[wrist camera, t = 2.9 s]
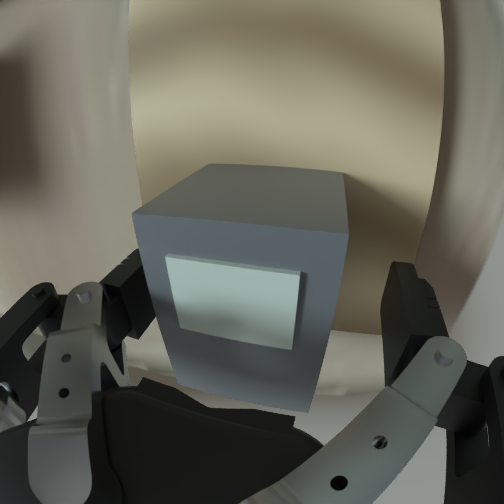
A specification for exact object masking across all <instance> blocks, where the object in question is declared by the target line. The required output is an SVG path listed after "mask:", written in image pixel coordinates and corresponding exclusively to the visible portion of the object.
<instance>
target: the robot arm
mask: <svg viewBox="0 0 504 504" xmlns="http://www.w3.org/2000/svg"><path fill="white" fill-rule="evenodd" d="M436 299H437V298H436V295H435V293H434V290H433V288H432V287H431V286H430V284H429V283H428V282H427V281H426V280H425V279H420V278H418V276H417V273H416V270H415V267H414V265H413V264H412V263H405V262H397V261H393V262H392V263H391V266H390V269H389V273H388V277H387V281H386V284H385V288H384V292H383V295H382V299H381V306H380V317H381V327H382V339H383V354H384V373H385V388H384V389H383V390H382V391H381V392H380V393H379V394H378V395H377V396H376V397H375V398H374V399H373V400H372V401H371V402H370V403H369V404H368V405H367V406H366V407H365V409H363V411H361V412H360V413H359V414H358V415H357V416H356V417H355V418H354V419H353V421H351V422H350V423H349V424H348V425H347V426H346V427H345V428H344V429H343V430H342V431H341V432H339V433H338V434H337V435H336V436H335V437H334V438H333V439H332V440H331V441H329V442H328V443H327V444H326V445H325V446H324V445H322V444H321V443H320V442H319V441H318V440H317V439H315V438H314V437H312V436H311V435H309V434H307V433H305V432H304V431H302V430H300V429H297V428H294V427H293V425H294V421H295V416H289V415H283V414H278V413H272V412H267V411H262V410H256V409H224V408H223V409H222V408H210V407H207V406H205V405H203V404H201V403H199V402H198V401H196V400H194V399H193V398H191V397H189V396H188V395H186V394H184V393H183V392H181V391H179V390H178V389H176V388H173V387H171V386H168V385H165V384H162V383H159V382H156V381H153V380H150V379H147V378H144V377H143V378H142V380H141V382H140V383H139V385H138V386H130V383H129V375H128V366H127V356H126V346H125V343H124V340H123V339H124V338H125V337H126V336H129V337H132V338H135V339H138V340H139V338H140V337H141V336H142V334H143V333H144V331H145V330H146V329H147V327H148V326H149V325H150V323H151V322H152V321H153V320H154V318H155V317H156V314H155V310H154V307H153V303H152V300H151V296H150V292H149V289H148V285H147V281H146V277H145V273H144V269H143V265H142V260H141V256H140V252H139V248H138V249H136V250H134V251H133V252H132V253H131V254H130V255H129V256H128V257H127V259H124V260H123V261H122V262H121V263H120V265H118V266H117V267H115V268H114V269H113V270H112V271H111V272H110V273H109V274H108V275H107V276H106V277H105V278H104V279H103V280H101V281H100V282H99V283H98V282H85V283H82V284H80V285H78V286H76V287H75V288H73V289H72V290H71V291H70V292H69V294H68V295H58V294H57V292H56V290H55V288H54V285H53V284H52V283H49V282H44V283H40V284H38V285H36V286H34V287H32V288H31V289H30V290H29V291H28V292H27V293H26V294H25V295H23V296H22V297H21V298H20V299H19V300H18V301H17V302H16V303H15V304H14V305H13V306H12V307H11V308H10V309H9V310H8V311H7V312H6V313H5V314H4V315H3V316H2V317H1V318H0V504H372V503H373V502H374V501H375V500H376V499H377V498H378V497H379V496H380V495H381V493H383V491H384V490H385V489H386V488H387V487H388V486H389V485H390V484H391V483H392V481H393V480H394V479H395V478H396V477H397V476H398V474H399V473H400V472H401V471H402V470H403V468H404V467H405V466H406V465H407V463H408V462H409V461H410V460H411V458H412V457H413V456H414V454H415V453H416V452H417V450H418V449H419V448H420V446H421V445H422V443H423V442H424V441H425V439H426V438H427V436H428V435H429V434H430V432H431V431H432V429H433V428H434V426H438V427H441V428H444V429H446V437H447V462H446V484H445V496H444V497H445V498H444V504H504V356H500V357H497V358H495V359H494V360H493V361H492V363H491V364H490V365H489V367H486V366H483V365H480V364H477V363H474V362H471V361H468V360H467V356H466V353H465V351H464V349H463V348H462V347H461V345H460V344H459V343H457V342H456V341H455V340H453V339H451V338H449V335H448V332H447V329H446V325H445V322H444V319H443V316H442V313H441V310H440V309H439V304H438V301H436ZM37 326H38V327H39V329H40V330H41V332H42V334H43V336H44V337H45V339H46V340H45V341H44V342H43V343H42V345H41V346H40V347H39V348H38V350H37V351H36V352H35V353H34V354H33V356H32V357H31V358H30V359H29V361H28V360H27V359H26V357H25V356H24V354H23V351H22V345H23V343H24V341H25V340H26V339H27V338H28V336H29V335H30V334H31V333H32V332H33V331H34V330H35V329H36V327H37ZM37 405H38V414H37V418H36V419H34V420H32V421H28V422H27V420H28V419H29V417H30V416H31V414H32V413H33V411H34V410H35V408H36V407H37ZM487 427H488V432H487ZM488 436H489V443H488Z"/></svg>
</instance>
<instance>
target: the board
mask: <svg viewBox="0 0 504 504" xmlns="http://www.w3.org/2000/svg"><path fill="white" fill-rule="evenodd" d="M129 83H130V101H131V114H132V126H133V137H134V146H135V155H136V163H137V171H138V178H139V185H140V192H141V198H142V204H143V205H145V204H146V203H148V202H149V201H151V200H152V199H154V198H155V197H157V196H158V195H160V194H161V193H163V192H164V191H166V190H167V189H169V188H170V187H172V186H173V185H175V184H177V183H178V182H180V181H181V180H183V179H184V178H186V177H188V176H189V175H191V174H193V173H194V172H196V171H197V170H199V169H201V168H202V167H204V166H206V165H207V164H209V163H211V164H244V165H264V166H280V167H294V168H306V169H317V170H326V171H336V172H343V179H344V187H345V196H346V206H347V217H348V229H349V238H348V244H347V250H346V256H345V262H344V268H343V273H342V279H341V284H340V289H339V294H338V299H337V304H336V308H335V313H334V318H333V322H332V326H331V330H338V331H347V332H356V333H365V334H375V335H382V327H381V317H380V306H381V299H382V295H383V292H384V288H385V284H386V281H387V277H388V273H389V269H390V266H391V263H392V262H393V261H397V262H405V263H412V264H413V265H414V264H415V261H416V257H417V254H418V250H419V247H420V243H421V239H422V235H423V231H424V227H425V223H426V219H427V215H428V210H429V206H430V201H431V196H432V191H433V185H434V180H435V174H436V168H437V161H438V154H439V146H440V138H441V128H442V117H443V102H444V38H443V24H442V14H441V5H440V0H130V2H129Z"/></svg>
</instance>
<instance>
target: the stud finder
mask: <svg viewBox="0 0 504 504" xmlns="http://www.w3.org/2000/svg"><path fill="white" fill-rule="evenodd" d="M132 218H133V223H134V228H135V233H136V238H137V243H138V247H139V252H140V256H141V260H142V265H143V269H144V273H145V277H146V281H147V285H148V289H149V292H150V296H151V300H152V303H153V307H154V310H155V314H156V317H157V321H158V324H159V327H160V331H161V334H162V337H163V340H164V343H165V347H166V350H167V353H168V356H169V359H170V362H171V365H172V367H173V370H174V373H175V376H176V378H177V381H178V384H180V385H183V386H186V387H190V388H194V389H197V390H200V391H204V392H208V393H211V394H215V395H219V396H224V397H227V398H231V399H236V400H240V401H245V402H250V403H254V404H259V405H264V406H269V407H275V408H280V409H286V410H293V411H300V412H307V413H308V412H309V409H310V405H311V402H312V399H313V395H314V392H315V388H316V385H317V381H318V378H319V374H320V371H321V367H322V363H323V359H324V355H325V351H326V347H327V343H328V339H329V335H330V331H331V326H332V322H333V318H334V313H335V308H336V304H337V299H338V294H339V289H340V284H341V279H342V273H343V268H344V262H345V256H346V250H347V244H348V238H349V229H348V217H347V206H346V196H345V187H344V179H343V172H336V171H326V170H317V169H306V168H294V167H280V166H264V165H244V164H211V163H209V164H207V165H206V166H204V167H202V168H201V169H199V170H197V171H196V172H194V173H193V174H191V175H189V176H188V177H186V178H184V179H183V180H181V181H180V182H178V183H177V184H175V185H173V186H172V187H170V188H169V189H167V190H166V191H164V192H163V193H161V194H160V195H158V196H157V197H155V198H154V199H152V200H151V201H149V202H148V203H146V204H145V205H143V206H142V207H140V208H139V209H138V210H136V211H135V212H133V213H132Z"/></svg>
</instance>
